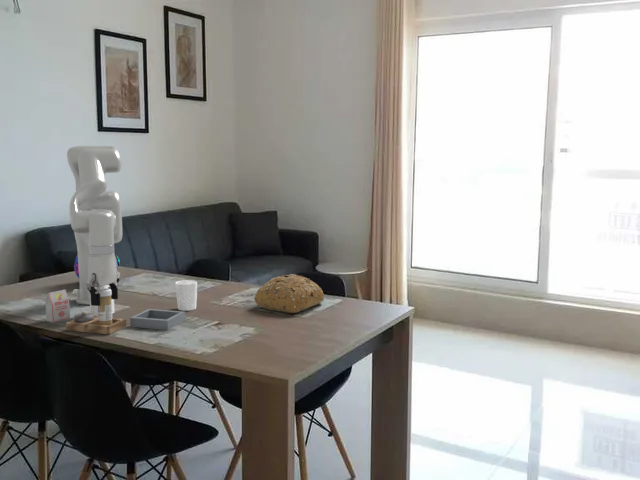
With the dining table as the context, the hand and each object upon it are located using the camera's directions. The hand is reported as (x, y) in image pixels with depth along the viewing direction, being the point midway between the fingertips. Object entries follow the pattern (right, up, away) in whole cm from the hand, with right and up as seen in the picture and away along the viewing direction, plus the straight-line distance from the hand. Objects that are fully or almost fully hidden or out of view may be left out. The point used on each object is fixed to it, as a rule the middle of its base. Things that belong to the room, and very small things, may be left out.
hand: (104, 302), depth 214 cm
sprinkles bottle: (0, -9, +2) cm, 10 cm away
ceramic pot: (-26, +1, +70) cm, 75 cm away
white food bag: (-21, -8, +14) cm, 26 cm away
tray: (+15, -8, +9) cm, 19 cm away
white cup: (+21, -5, +29) cm, 36 cm away
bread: (+59, -5, +33) cm, 68 cm away
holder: (-4, -9, +3) cm, 10 cm away
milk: (-7, -7, +20) cm, 23 cm away
